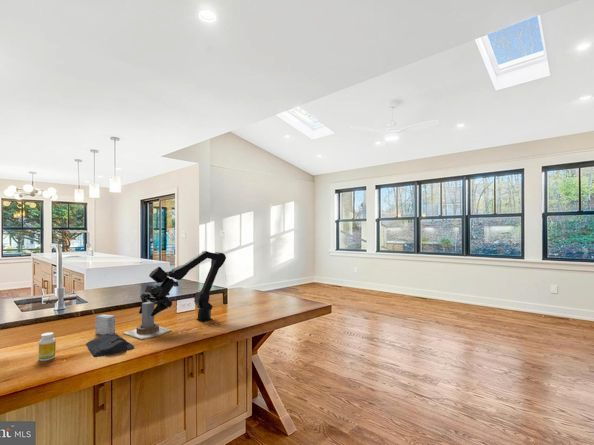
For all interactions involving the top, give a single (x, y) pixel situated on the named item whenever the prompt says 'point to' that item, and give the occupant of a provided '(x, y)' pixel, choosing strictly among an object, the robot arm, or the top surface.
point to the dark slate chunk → (108, 345)
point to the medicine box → (105, 324)
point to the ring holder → (147, 332)
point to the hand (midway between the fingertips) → (145, 314)
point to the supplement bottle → (47, 347)
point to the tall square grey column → (147, 315)
